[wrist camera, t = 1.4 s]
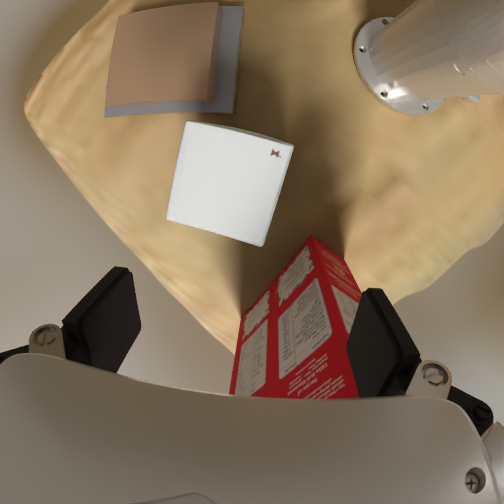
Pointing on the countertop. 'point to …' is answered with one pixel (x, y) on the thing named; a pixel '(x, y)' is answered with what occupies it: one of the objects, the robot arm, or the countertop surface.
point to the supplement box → (228, 180)
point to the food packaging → (300, 331)
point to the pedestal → (175, 60)
